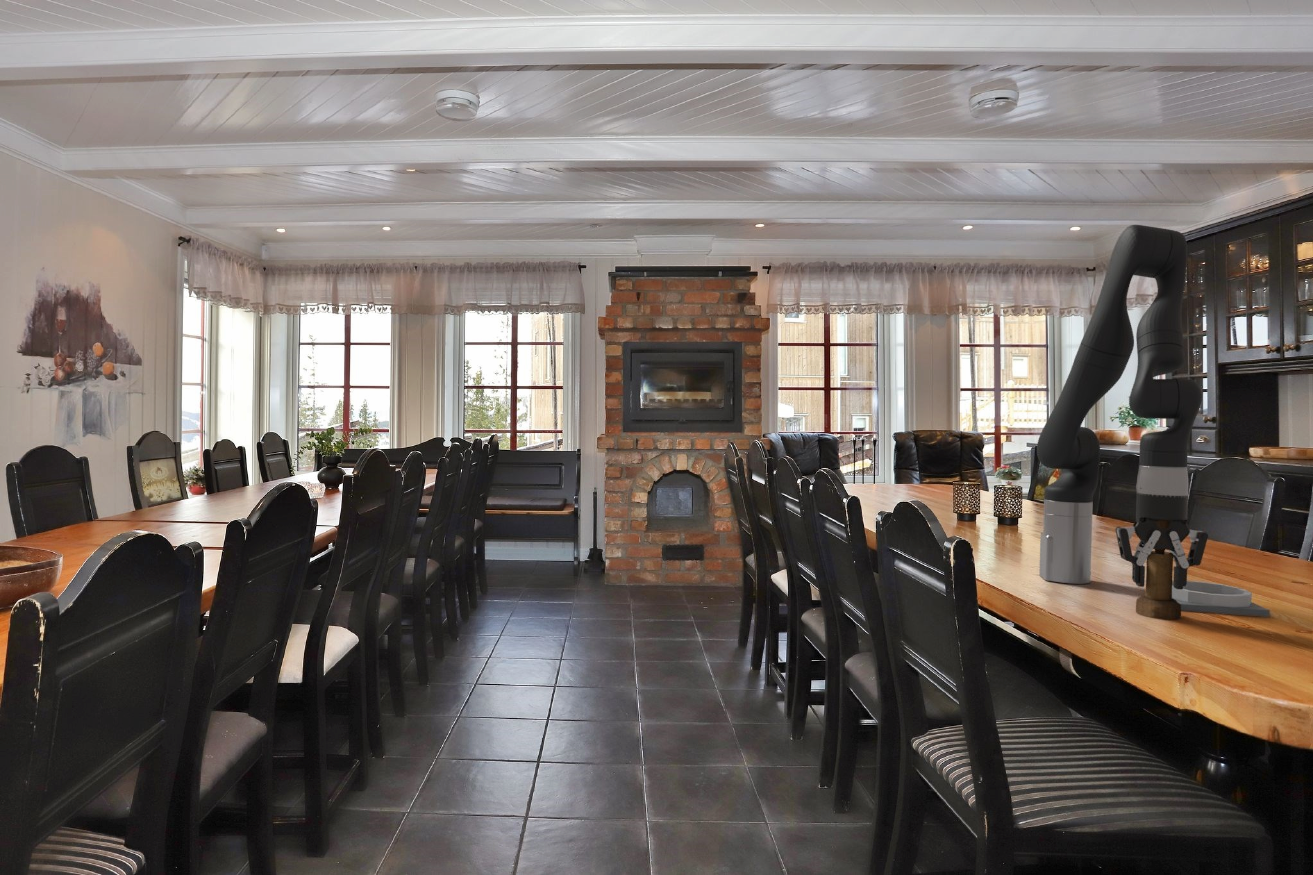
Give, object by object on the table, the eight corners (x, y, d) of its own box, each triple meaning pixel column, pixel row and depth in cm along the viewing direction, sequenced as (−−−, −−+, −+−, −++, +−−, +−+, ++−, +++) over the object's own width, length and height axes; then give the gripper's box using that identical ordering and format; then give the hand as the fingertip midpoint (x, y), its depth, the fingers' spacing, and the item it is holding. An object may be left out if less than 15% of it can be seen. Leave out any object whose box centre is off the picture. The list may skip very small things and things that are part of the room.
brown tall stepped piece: (1137, 616, 130) (1140, 514, 130) (1133, 608, 136) (1136, 510, 136) (1183, 621, 127) (1187, 516, 127) (1177, 613, 133) (1181, 513, 133)
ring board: (1178, 610, 135) (1179, 592, 135) (1149, 593, 149) (1150, 577, 149) (1269, 616, 132) (1270, 599, 132) (1231, 599, 145) (1231, 583, 145)
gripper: (1123, 491, 130) (1120, 588, 130) (1219, 495, 126) (1215, 595, 126) (1109, 488, 137) (1106, 580, 137) (1199, 491, 133) (1196, 586, 133)
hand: (1159, 586), depth 132 cm, fingers open, 5 cm apart
